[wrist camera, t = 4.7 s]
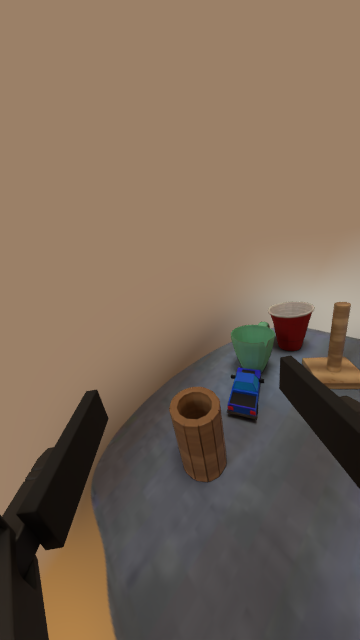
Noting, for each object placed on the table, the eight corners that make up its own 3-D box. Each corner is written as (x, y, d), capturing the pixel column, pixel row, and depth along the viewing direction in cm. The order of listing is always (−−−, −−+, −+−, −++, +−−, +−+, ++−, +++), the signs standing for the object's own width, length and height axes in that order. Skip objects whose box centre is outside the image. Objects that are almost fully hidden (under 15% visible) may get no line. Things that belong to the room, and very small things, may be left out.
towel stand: (371, 389, 37) (390, 309, 31) (318, 388, 39) (327, 314, 33) (344, 362, 45) (355, 295, 39) (301, 363, 47) (306, 299, 41)
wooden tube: (226, 484, 27) (219, 428, 23) (178, 478, 28) (164, 425, 24) (225, 437, 33) (219, 386, 29) (186, 435, 35) (175, 386, 31)
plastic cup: (264, 338, 61) (264, 302, 57) (302, 336, 59) (304, 299, 54) (272, 357, 52) (273, 316, 47) (318, 355, 49) (323, 312, 45)
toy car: (264, 380, 44) (264, 362, 42) (261, 424, 34) (260, 403, 32) (235, 376, 47) (233, 359, 45) (224, 415, 37) (221, 395, 35)
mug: (267, 386, 42) (267, 347, 39) (226, 373, 48) (223, 338, 45) (284, 353, 52) (285, 320, 49) (248, 346, 58) (247, 316, 55)
